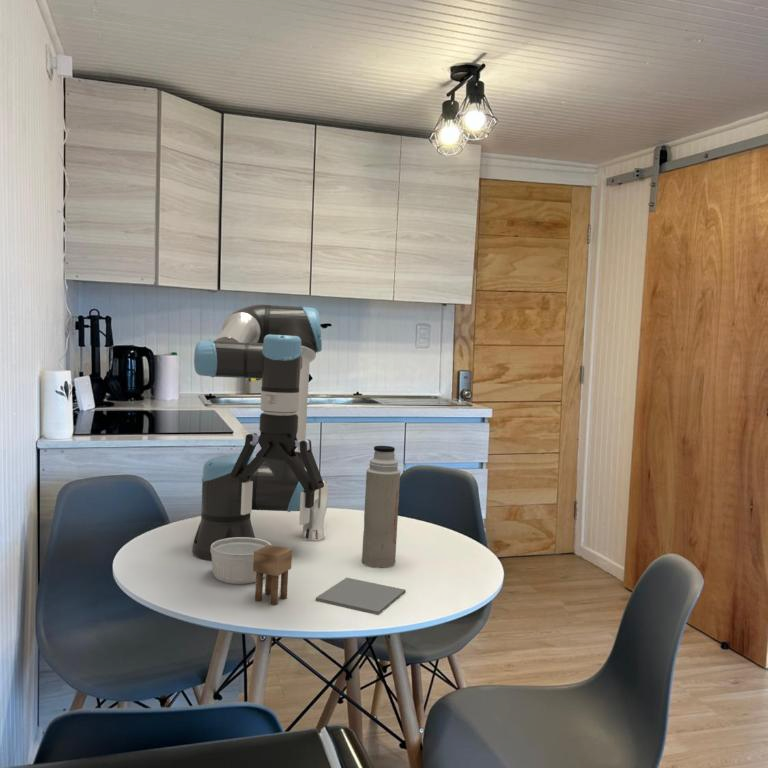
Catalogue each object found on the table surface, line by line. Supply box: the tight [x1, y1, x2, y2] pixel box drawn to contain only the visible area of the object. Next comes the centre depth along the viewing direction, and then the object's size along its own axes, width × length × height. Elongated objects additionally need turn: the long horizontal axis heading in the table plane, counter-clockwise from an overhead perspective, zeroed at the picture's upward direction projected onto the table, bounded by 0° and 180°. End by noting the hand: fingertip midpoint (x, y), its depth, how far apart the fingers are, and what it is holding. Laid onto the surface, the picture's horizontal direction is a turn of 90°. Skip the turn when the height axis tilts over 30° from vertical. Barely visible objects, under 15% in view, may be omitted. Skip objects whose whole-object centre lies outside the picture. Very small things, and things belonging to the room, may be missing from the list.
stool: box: [253, 544, 293, 606], centre depth 144 cm, size 6×6×10 cm
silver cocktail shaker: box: [300, 479, 329, 542], centre depth 188 cm, size 7×7×15 cm
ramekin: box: [210, 537, 272, 585], centre depth 157 cm, size 13×13×7 cm
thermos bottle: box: [361, 445, 401, 568], centre depth 170 cm, size 8×8×28 cm
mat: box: [315, 577, 406, 615], centre depth 148 cm, size 14×14×1 cm
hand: (274, 518), depth 143 cm, fingers open, 13 cm apart
